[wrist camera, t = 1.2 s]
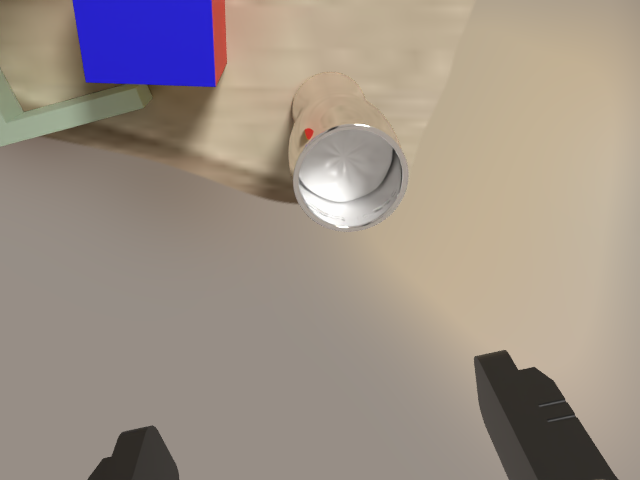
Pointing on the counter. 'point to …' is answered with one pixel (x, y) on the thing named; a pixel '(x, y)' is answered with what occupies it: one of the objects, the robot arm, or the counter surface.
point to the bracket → (65, 111)
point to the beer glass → (344, 155)
